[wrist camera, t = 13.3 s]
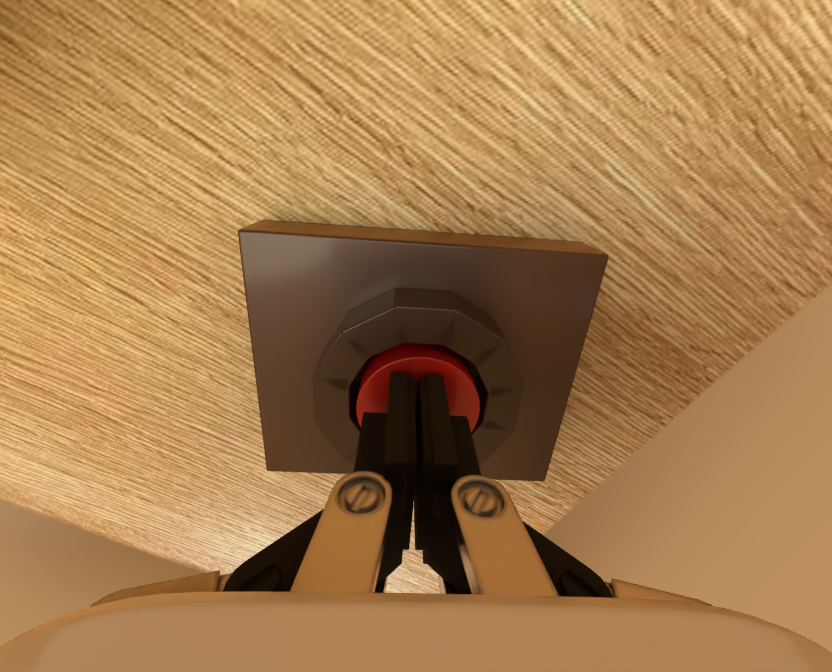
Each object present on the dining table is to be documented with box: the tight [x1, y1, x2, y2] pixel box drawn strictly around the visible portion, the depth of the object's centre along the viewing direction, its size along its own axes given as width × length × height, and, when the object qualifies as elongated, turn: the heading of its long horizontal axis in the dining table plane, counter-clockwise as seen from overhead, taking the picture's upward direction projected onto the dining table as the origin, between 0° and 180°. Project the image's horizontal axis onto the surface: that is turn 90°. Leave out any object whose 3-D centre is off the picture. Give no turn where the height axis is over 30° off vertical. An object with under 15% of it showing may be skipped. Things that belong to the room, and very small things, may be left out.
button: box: [356, 343, 480, 432], centre depth 13 cm, size 4×4×2 cm
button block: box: [238, 220, 608, 481], centre depth 14 cm, size 12×10×4 cm
